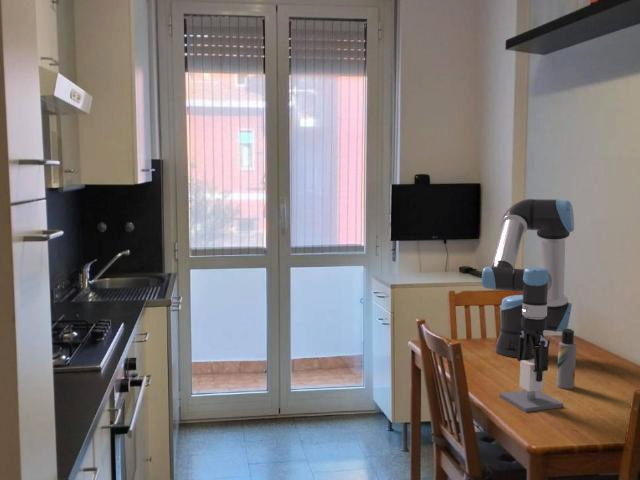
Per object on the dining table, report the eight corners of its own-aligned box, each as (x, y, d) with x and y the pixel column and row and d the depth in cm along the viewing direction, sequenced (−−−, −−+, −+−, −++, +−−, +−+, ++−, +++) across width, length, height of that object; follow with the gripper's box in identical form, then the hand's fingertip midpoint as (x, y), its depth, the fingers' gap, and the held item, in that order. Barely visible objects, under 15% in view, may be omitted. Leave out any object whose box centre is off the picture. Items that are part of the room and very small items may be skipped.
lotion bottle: (574, 384, 226) (576, 328, 224) (574, 390, 221) (577, 332, 219) (556, 383, 228) (559, 327, 226) (556, 388, 223) (559, 331, 221)
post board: (499, 396, 214) (500, 372, 213) (535, 392, 219) (536, 368, 218) (525, 412, 201) (526, 386, 200) (563, 407, 205) (564, 381, 204)
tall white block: (519, 386, 211) (520, 360, 210) (533, 384, 212) (534, 359, 212) (529, 391, 206) (530, 365, 205) (543, 390, 208) (544, 363, 207)
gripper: (507, 311, 214) (504, 380, 217) (542, 323, 197) (538, 398, 199) (526, 309, 216) (524, 378, 219) (562, 322, 199) (559, 395, 202)
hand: (531, 387), depth 209 cm, fingers closed on tall white block, 5 cm apart
